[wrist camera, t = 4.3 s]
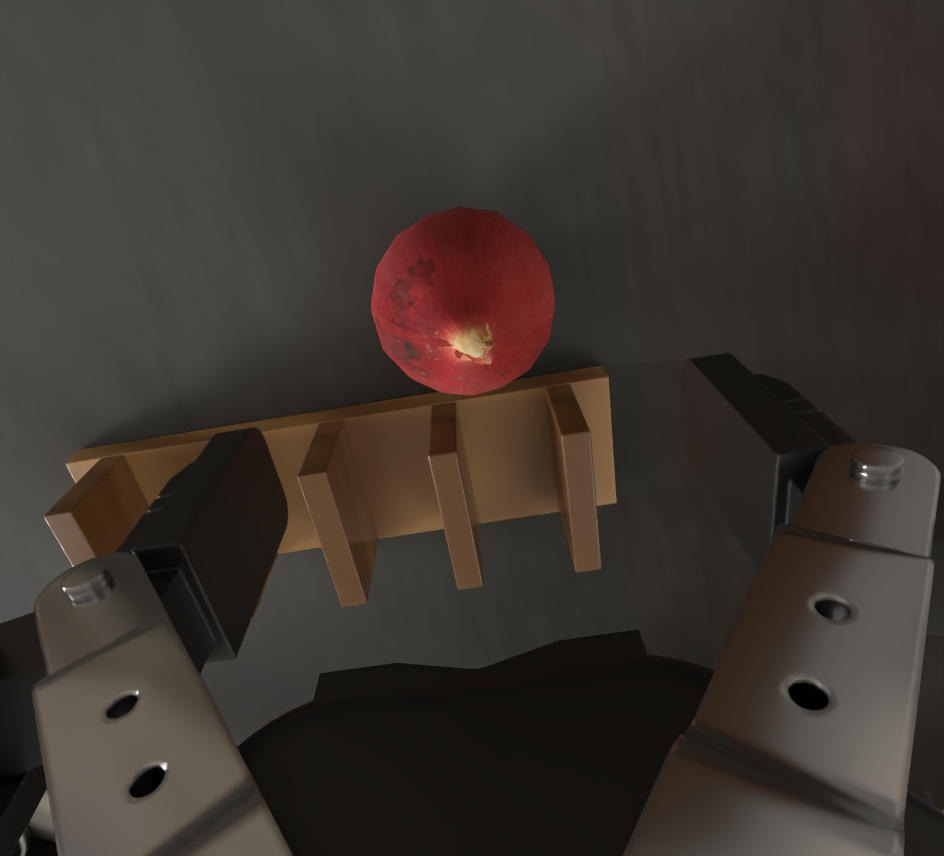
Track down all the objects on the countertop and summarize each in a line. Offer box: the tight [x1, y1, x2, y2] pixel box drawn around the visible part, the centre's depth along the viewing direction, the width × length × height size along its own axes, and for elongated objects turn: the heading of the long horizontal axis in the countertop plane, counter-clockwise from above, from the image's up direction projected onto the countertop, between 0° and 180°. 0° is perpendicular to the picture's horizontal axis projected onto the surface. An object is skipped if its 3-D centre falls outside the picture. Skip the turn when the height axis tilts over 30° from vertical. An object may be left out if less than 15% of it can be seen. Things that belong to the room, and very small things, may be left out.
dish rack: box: [44, 366, 616, 620], centre depth 25 cm, size 22×6×5 cm, turn 99°
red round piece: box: [371, 207, 556, 396], centre depth 20 cm, size 6×6×8 cm
